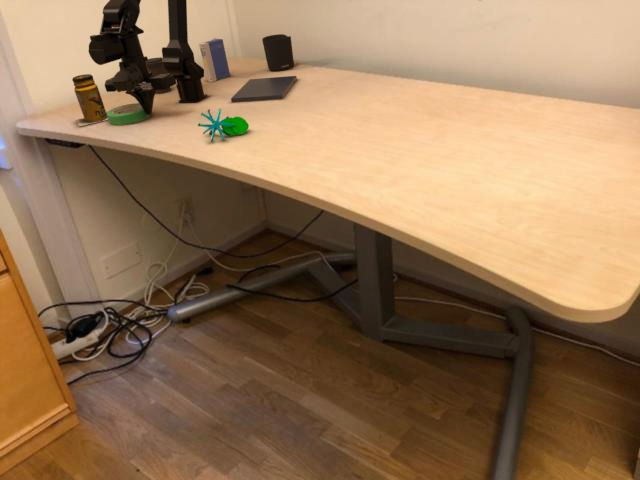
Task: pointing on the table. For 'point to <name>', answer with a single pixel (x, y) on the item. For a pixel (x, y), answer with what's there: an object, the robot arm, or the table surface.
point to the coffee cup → (157, 70)
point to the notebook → (264, 89)
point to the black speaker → (278, 52)
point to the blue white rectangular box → (214, 59)
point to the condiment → (89, 100)
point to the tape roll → (127, 114)
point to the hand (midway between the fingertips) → (149, 114)
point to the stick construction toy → (225, 125)
